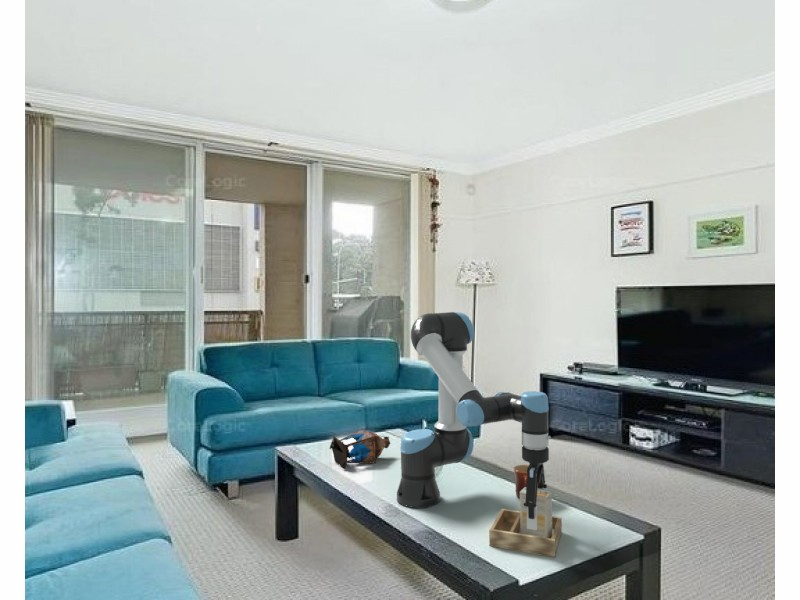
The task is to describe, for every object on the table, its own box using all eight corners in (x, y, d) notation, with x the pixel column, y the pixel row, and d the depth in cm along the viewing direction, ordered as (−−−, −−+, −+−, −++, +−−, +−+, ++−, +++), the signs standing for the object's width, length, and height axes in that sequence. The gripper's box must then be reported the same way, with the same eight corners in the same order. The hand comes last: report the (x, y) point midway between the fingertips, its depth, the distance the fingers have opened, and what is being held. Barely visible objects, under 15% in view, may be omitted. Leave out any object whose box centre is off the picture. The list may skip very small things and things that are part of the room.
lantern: (338, 481, 224) (390, 467, 236) (347, 459, 214) (401, 446, 226) (325, 449, 234) (376, 437, 246) (332, 426, 224) (385, 415, 236)
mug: (513, 492, 192) (513, 464, 192) (538, 494, 190) (538, 465, 190) (513, 506, 180) (513, 475, 180) (540, 507, 179) (540, 477, 178)
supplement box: (553, 536, 156) (552, 491, 155) (547, 543, 152) (547, 497, 151) (525, 529, 160) (525, 486, 160) (519, 536, 156) (519, 491, 156)
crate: (489, 545, 153) (489, 530, 153) (501, 522, 168) (501, 508, 168) (554, 557, 146) (554, 540, 146) (561, 532, 161) (561, 517, 161)
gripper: (541, 460, 142) (542, 540, 143) (554, 436, 165) (554, 504, 166) (513, 457, 145) (514, 535, 146) (529, 434, 168) (530, 501, 169)
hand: (536, 519), depth 156 cm, fingers open, 13 cm apart
